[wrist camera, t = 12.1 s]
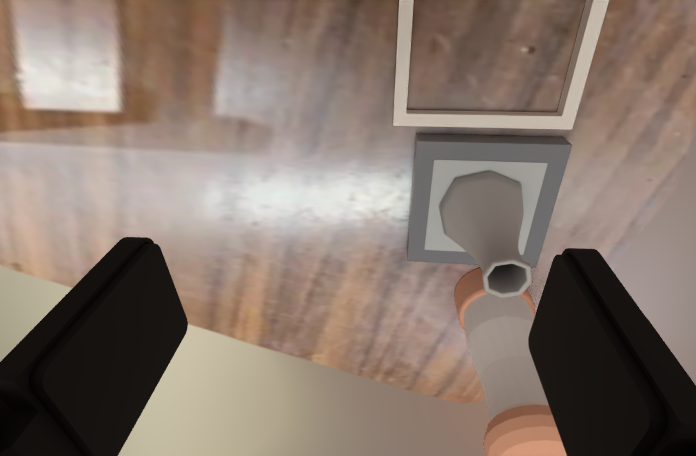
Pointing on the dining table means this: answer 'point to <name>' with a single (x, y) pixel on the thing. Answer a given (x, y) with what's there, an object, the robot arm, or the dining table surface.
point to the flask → (489, 229)
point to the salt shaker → (506, 370)
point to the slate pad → (473, 158)
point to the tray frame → (501, 119)
